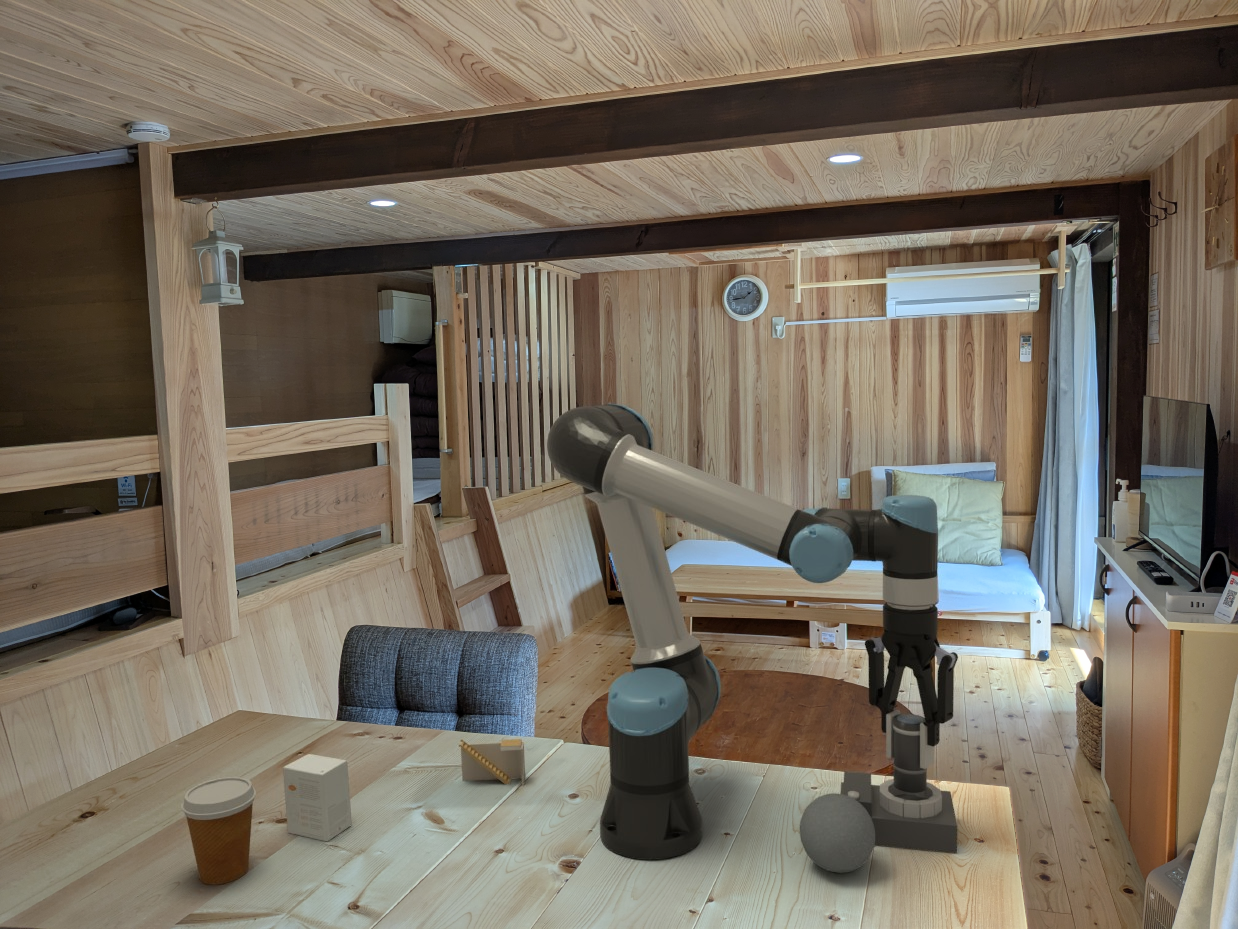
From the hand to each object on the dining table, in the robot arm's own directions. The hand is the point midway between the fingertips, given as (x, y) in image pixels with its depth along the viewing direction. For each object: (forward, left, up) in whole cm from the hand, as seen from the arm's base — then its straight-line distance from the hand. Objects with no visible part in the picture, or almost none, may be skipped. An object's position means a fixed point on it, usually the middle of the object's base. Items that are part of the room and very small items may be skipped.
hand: (910, 760), depth 133 cm
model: (-67, +3, -11) cm, 68 cm away
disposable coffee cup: (-93, -32, -11) cm, 99 cm away
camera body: (-2, 0, -11) cm, 11 cm away
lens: (0, 0, -4) cm, 4 cm away
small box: (-87, -18, -11) cm, 89 cm away
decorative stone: (-10, -13, -11) cm, 20 cm away
